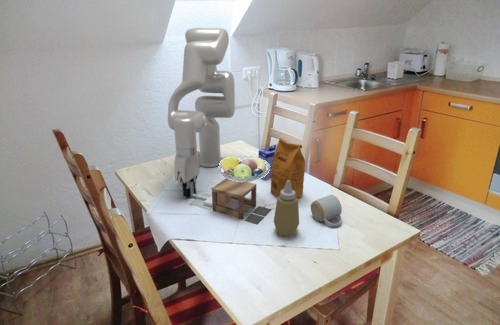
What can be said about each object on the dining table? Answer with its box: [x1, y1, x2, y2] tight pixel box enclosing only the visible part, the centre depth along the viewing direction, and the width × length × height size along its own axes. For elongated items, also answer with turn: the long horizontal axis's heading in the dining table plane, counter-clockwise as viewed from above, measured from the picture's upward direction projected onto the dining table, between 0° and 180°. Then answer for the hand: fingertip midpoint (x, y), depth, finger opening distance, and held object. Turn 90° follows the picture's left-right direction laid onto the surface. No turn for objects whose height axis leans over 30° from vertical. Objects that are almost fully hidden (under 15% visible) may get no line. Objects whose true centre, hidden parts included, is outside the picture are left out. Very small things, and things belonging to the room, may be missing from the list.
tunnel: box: [211, 177, 257, 220], centre depth 125 cm, size 12×10×9 cm
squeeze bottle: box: [273, 180, 300, 237], centre depth 110 cm, size 8×8×18 cm
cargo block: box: [217, 192, 231, 206], centre depth 128 cm, size 4×4×4 cm
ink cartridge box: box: [258, 143, 278, 181], centre depth 151 cm, size 10×6×14 cm, turn 130°
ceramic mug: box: [310, 194, 343, 228], centre depth 119 cm, size 11×8×8 cm
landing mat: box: [188, 192, 213, 210], centre depth 132 cm, size 9×10×1 cm
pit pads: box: [243, 205, 272, 225], centre depth 123 cm, size 5×11×1 cm, turn 152°
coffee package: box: [270, 137, 306, 198], centre depth 133 cm, size 10×12×22 cm
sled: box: [185, 181, 239, 210], centre depth 130 cm, size 22×7×6 cm, turn 62°
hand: (189, 194), depth 136 cm, fingers closed on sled, 2 cm apart
